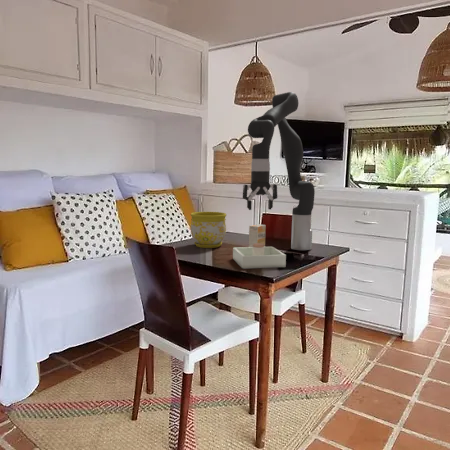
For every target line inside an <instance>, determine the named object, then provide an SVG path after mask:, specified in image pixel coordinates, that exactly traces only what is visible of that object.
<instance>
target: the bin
mask: <svg viewBox="0 0 450 450" xmlns="http://www.w3.org/2000/svg"><path fill="white" fill-rule="evenodd" d="M252 254H253V247H249V246H245V247H244V246H243V247H242V246H241V247H232V259H233V260H234V261H235V263H236V264H237V265H238V266H239V267H240V268H241V269H243V270H244V269H246V270H247V269H268V268H269V269H271V268H274V269H275V268H286V265H287V261H286V260H287V254H285V253H284V252H282V251H280V250H279V249H277V248H276V247H274V246H265V249H264V255H253V256H252Z"/></svg>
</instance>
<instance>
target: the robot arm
mask: <svg viewBox="0 0 450 450" xmlns="http://www.w3.org/2000/svg"><path fill="white" fill-rule="evenodd" d="M298 98H299V97H298V95H297V94H296V93H295V92H293V91H288V92H284V93H279V94H275V95H273V97H272V100H271V103H272V104H271V105H272V107H271V108H270V109H268V110H267V111H266V112H264V114H263V115H261V116H258V117H256V118H254V119H252V120H251V121H250V122H249V124H248V127H247V133H248V135H249V137H251V138H253V139H262V140H261V142H259V143H256V144H253V145H252V147H251V148H252V149H251V164H250V165H251V166H250V167H251V168H250V169H251V170H250V177H251V178H250V184H243V185H242V199H243V200H246V203H247V204H246V208H247V209H248V210H249V211H252V204H253V203H252V200H253V198H254V197H255V196H260V195H262V196H265V197H267V199H268V202H267V209H268V210H272V209H273V207H274V206H273V205H274V202H273V201H274V200H276V199H278V184H276V183H273V184H270V179H271V178H270V177H271V176H270V173H271V171H270V170H271V167H270V166H271V165H270V164H271V162H270V148H271V144H272V140H273V138H274V137H273V136H274V134H275V128H276V126H277V128H278V131H279V137H280V140H281V147H282V152H283V157H284V160H285V167H286V172H287V177H288V179H287V180H288V187H289V188H288V189H289V190H288V191H289V194H290V197H291V198H292V199H294V200H297V201H298V204H297V206H295V207H293V208H292V211H291V212H292V215H291V220H292V221H291V242H290V248H291V250H296V251H308V250H312V249H313V248H312V247H313V246H312V245H313V230H312V229H311V228H312V213H313V209H314V205H315V204H314V203H315V193H316V192H315V186H314V184H313V183H312V182H310V181H303V180H302V176H301V166H302V162H303V159H304V149H303V143H302V140H301V138H300V136H299V135H298V134H297V132H296V131H295V130H294V129H293V128H292V127H291V126H290V124H289V123H288V121H287V118H286V117H288V116H289V115H291V114H292V113H294V112H296V111H297V110H298V109H299V108H298V107H299V99H298ZM249 189H250V190H251V192H249V195H248V191H249ZM270 189H271V190H272V195H271V193H270V191H269V190H270Z"/></svg>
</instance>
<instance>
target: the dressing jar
mask: <svg viewBox="0 0 450 450" xmlns="http://www.w3.org/2000/svg"><path fill="white" fill-rule="evenodd" d="M265 247H266V245H265V246H264V244H263V243H254V244H253V254H252V256H253V255H264V249H265Z"/></svg>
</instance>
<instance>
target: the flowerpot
mask: <svg viewBox="0 0 450 450" xmlns="http://www.w3.org/2000/svg"><path fill="white" fill-rule="evenodd" d="M190 217H191V224H190V234H191V238H192V239H193V241H194V242H193V244H195V246H196V248H202V249H203V248H204V249H215V248H219V247H221V246H222V244H223V240H224V239H225V236H226V233H227V232H226V231H227V224H226V220H227V219H226V218H227V213H225V212H221V211H196V212H191V213H190Z"/></svg>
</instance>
